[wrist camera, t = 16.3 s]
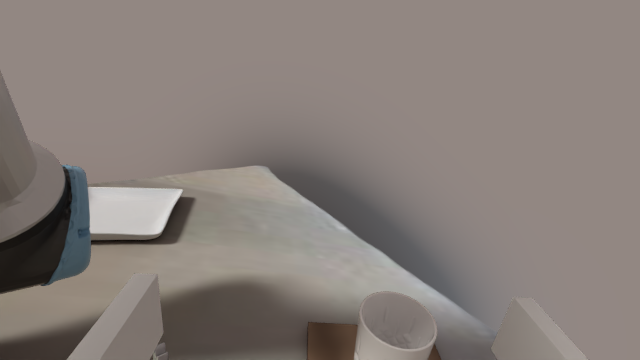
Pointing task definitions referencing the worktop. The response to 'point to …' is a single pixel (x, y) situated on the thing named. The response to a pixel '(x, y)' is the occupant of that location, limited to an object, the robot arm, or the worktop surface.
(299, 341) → the worktop surface
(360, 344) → the white cup
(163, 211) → the salad plate
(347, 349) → the walnut board
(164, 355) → the caliper
